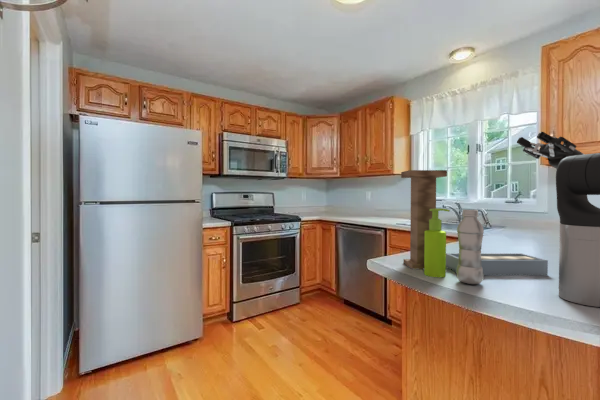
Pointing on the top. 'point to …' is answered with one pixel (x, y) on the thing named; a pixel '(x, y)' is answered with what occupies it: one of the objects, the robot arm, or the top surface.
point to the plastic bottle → (470, 248)
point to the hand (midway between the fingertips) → (528, 137)
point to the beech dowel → (506, 258)
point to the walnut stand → (421, 211)
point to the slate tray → (505, 265)
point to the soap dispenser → (435, 247)
